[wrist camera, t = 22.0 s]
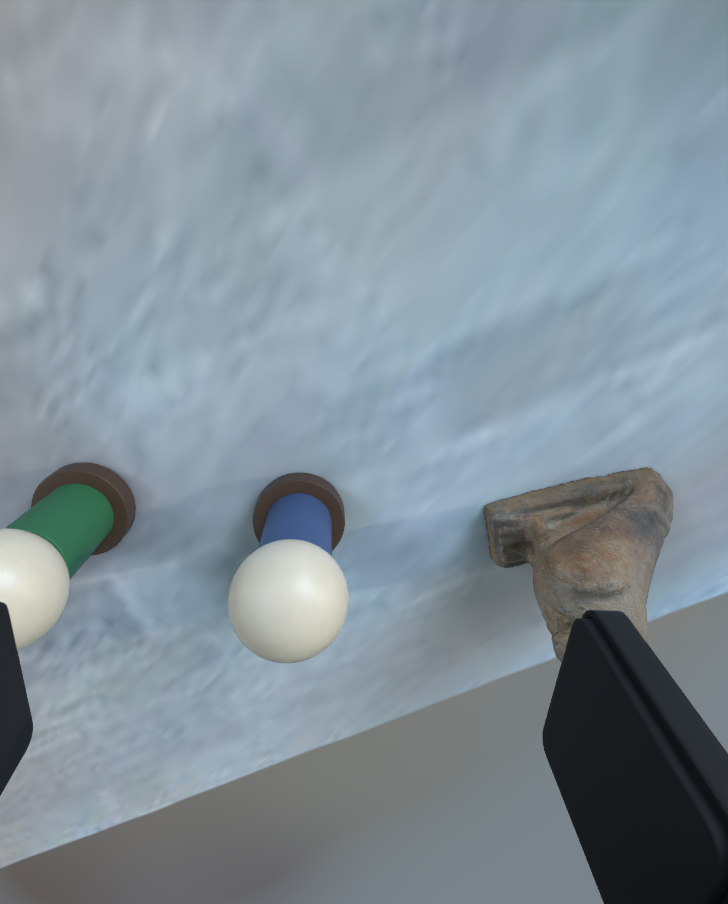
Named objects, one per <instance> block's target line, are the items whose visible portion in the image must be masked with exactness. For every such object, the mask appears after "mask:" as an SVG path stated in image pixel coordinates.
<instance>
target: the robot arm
mask: <svg viewBox="0 0 728 904" xmlns="http://www.w3.org/2000/svg"><path fill="white" fill-rule="evenodd" d="M32 732H33V722H32V717H31V712H30V708H29V703H28V698H27V694H26V689H25V684H24V680H23V675H22V670H21V666H20V661H19V656H18V652H17V647H16V643H15V638H14V633H13V629H12V624H11V619H10V615H9V610H8V607H7V605H6V604H5V603H4V602H0V795H1V794H2V792H3V790H4V788H5V787H6V785H7V783H8V781H9V780H10V778H11V776H12V774H13V773H14V771H15V769H16V767H17V766H18V764H19V762H20V760H21V759H22V757H23V755H24V754H25V752H26V750H27V748H28V746H29V743H30V741H31V737H32ZM543 745H544V751H545V753H546V757H547V759H548V762H549V764H550V767H551V769H552V772H553V774H554V777H555V779H556V782H557V785H558V787H559V790H560V792H561V795H562V797H563V800H564V803H565V805H566V807H567V810H568V813H569V815H570V818H571V820H572V823H573V826H574V828H575V831H576V833H577V836H578V838H579V841H580V843H581V846H582V849H583V851H584V854H585V856H586V859H587V861H588V864H589V866H590V869H591V872H592V874H593V877H594V879H595V882H596V884H597V887H598V889H599V892H600V895H601V897H602V899H603V902H604V904H728V753H727V752H726V751H725V749H724V748H723V747H722V745H721V744H720V742H719V741H718V740H717V738H716V737H715V736H714V734H713V733H712V732H711V730H710V729H709V727H708V726H707V725H706V724H705V722H704V721H703V719H702V718H701V717H700V715H699V714H698V712H697V711H696V710H695V708H694V707H693V706H692V704H691V703H690V701H689V700H688V699H687V697H686V696H685V695H684V693H683V692H682V691H681V689H680V688H679V686H678V685H677V684H676V682H675V681H674V679H673V678H672V677H671V675H670V674H669V673H668V671H667V670H666V668H665V667H664V666H663V664H662V663H661V662H660V660H659V659H658V658H657V656H656V655H655V653H654V652H653V651H652V649H651V648H650V647H649V645H648V644H647V642H646V641H645V640H644V638H643V637H642V636H641V634H640V633H639V631H638V630H637V629H636V627H635V626H634V625H633V623H632V622H631V620H630V619H629V618H628V616H627V615H626V614H625V613H624V612H621V611H608V610H587V611H586V612H585V613H584V614H583V616H582V618H578V619H575V620H574V622H573V624H572V627H571V631H570V634H569V638H568V642H567V645H566V649H565V652H564V656H563V660H562V664H561V667H560V671H559V674H558V678H557V681H556V686H555V689H554V692H553V696H552V699H551V703H550V707H549V710H548V714H547V718H546V721H545V725H544V729H543Z"/></svg>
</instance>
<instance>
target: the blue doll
mask: <svg viewBox="0 0 728 904" xmlns="http://www.w3.org/2000/svg"><path fill="white" fill-rule="evenodd" d="M344 526H345V517H344V506H343V503H342V500H341V497H340V495H339V494H338V492H337V491H336V489H335V488H334V487H333V486H332V485H331V484H330V483H329V482H327V481H326V480H324V479H322V478H320V477H318V476H316V475H312V474H308V473H291V474H287V475H284V476H281V477H279V478H277V479H275V480H274V481H272V482H271V483H270V484H269V485H268V486H267V487H266V488H265V489H264V490H263V491H262V493H261V495H260V497H259V499H258V502H257V505H256V508H255V511H254V515H253V527H254V532H255V534H256V537H257V539H258V541H259V543H260V544H259V548H258V549H257V550H255V551H254V552H252V553H251V554H250V555H249V556H248V557H247V558H246V559H245V560H244V561H243V563H242V564H241V565H240V566H239V568H238V569H237V571H236V573H235V575H234V577H233V580H232V582H231V585H230V590H229V594H228V612H229V617H230V621H231V625H232V627H233V629H234V631H235V633H236V635H237V636H238V638H239V639H240V641H241V642H242V643H243V644H244V645H245V646H246V647H247V648H248V649H249V650H250V651H251V652H253V653H254V654H256V655H257V656H259V657H261V658H263V659H266V660H269V661H273V662H277V663H296V662H300V661H304V660H307V659H309V658H312V657H314V656H316V655H317V654H319V653H320V652H322V651H323V650H325V649H326V648H327V647H328V646H329V645H330V644H331V643H332V642H333V641H334V639H335V638H336V637H337V635H338V634H339V632H340V631H341V629H342V627H343V625H344V622H345V619H346V615H347V612H348V605H349V593H348V587H347V582H346V579H345V576H344V574H343V572H342V570H341V568H340V566H339V565H338V564H337V562H336V561H335V559H334V558H333V557H332V550H333V549H334V548H335V547H336V546H337V544H338V543H339V541H340V539H341V537H342V535H343V531H344Z"/></svg>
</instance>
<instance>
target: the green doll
mask: <svg viewBox="0 0 728 904" xmlns="http://www.w3.org/2000/svg"><path fill="white" fill-rule="evenodd" d="M135 509H136V507H135V501H134V497H133V495H132V492H131V490H130V489H129V487H128V485H127V484H126V483H125V481H124V480H123V479H122V478H121V477H119V476H118V475H117V474H116V473H114V472H113V471H111V470H109V469H107V468H105V467H103V466H100V465H96V464H92V463H74V464H70V465H67V466H64V467H62V468H60V469H59V470H57V471H56V472H54V473H53V474H51V475H50V476H49V477H47V478H46V479H45V480H43V481H42V482H41V484H40V485H39V486H38V487H37V489H36V491H35V493H34V495H33V499H32V505H31V509H29V510H28V511H27V512H25V513H24V514H23V515H22V516H20V517H19V518H18V519H17V520H15V521H14V522H13V523H11V524H10V525H9V526H8V527H6V528H1V529H0V602H4V603H5V604H6V605H7V607H8V610H9V615H10V619H11V624H12V629H13V633H14V638H15V643H16V647H17V651H18V650H21V649H23V648H25V647H27V646H29V645H31V644H32V643H34V642H35V641H37V640H38V639H40V638H41V637H42V636H44V635H45V634H46V633H47V632H48V631H49V630H50V629H51V628H52V627H53V626H54V625H55V623H56V622H57V620H58V619H59V617H60V616H61V614H62V612H63V610H64V608H65V606H66V603H67V600H68V596H69V590H70V579H71V577H72V576H73V575H74V574H75V573H76V572H77V570H78V569H79V568H80V567H81V566H82V564H83V563H84V562H85V561H86V560H87V559H88V557H89V556H91V555H97V554H101V553H104V552H106V551H108V550H110V549H112V548H113V547H115V546H116V545H117V544H118V543H119V542H120V541H121V540H122V538H123V537H124V536H125V535H126V533H127V532H128V531H129V529H130V528H131V526H132V524H133V521H134V518H135Z"/></svg>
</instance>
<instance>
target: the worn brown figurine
mask: <svg viewBox="0 0 728 904" xmlns="http://www.w3.org/2000/svg"><path fill="white" fill-rule="evenodd" d="M620 472H621V471H620ZM620 472H618V473H612V474H611V475H609V474H608V475H607V476H606V477H602V476H598V477H595V478H591V477H588V478H584V479H582V480H581V479H580V478H579V479H580V480H577V481H576V482H574V481H572V482H570V483H567V484H560V485H558V486H554V487H547V488H545V489H540V490H537V491H531V492H529V493H525V494H522V495H520V496H514V497H511V498H509V499H502V500H499V501H497V502H493V503H490V504H487V505H486V506H484V514H485V521H486V528H487V531H488V539H489V544H490V545H489V549H490V555H491V558H492V559H493V560H494V562H495V563H496V565H498V566H500V567H504V568H510V567H514V566H518V565H521V564H524V563H531V565H532V566H533V585H534V591H535V596H536V599H537V601H538V604H539V607H540V609H541V612H542V615H543V617H544V619H545V621H546V624H547V628H548V630H549V631H550V633H551V634H552V642H553V648H554V651H555V655H556V657H557V658H558V659H559V660H560V661H561V662H562V660H563V656H564V652H565V649H566V645H567V642H568V638H569V634H570V631H571V627H572V624H573V622H574V620H575V619H578V618H582V616H583V614H584V613H585V612H586V611H587V610H608V611H621V612H624V613H625V614H626V615H627V616H628V618H629V619H630V620H631V622H632V623H633V625H634V626H635V627H636V629H637V630H638V631H639V633H640V634H641V636H642V637H643V638H644V640H645V641H646V642H647V615H646V602H647V597H648V592H649V588H650V583H651V580H652V576H653V572H654V568H655V564H656V562H657V559H658V557H659V553H660V550H661V547H662V545H663V542H664V539H665V538H666V536H667V535H668V533H669V530H670V523H671V521H672V518H673V494H672V491H671V490H670V488H669V487H668V486H667V485H666V483H665V482H664V481H663V480H662V478H661V477H660V475H659V474H658V473H657V472H655V471H653V470H652V468H650V469H649V468H641V469H638V470H637V469H636V470H630V471H625V472H624V471H622V472H621V473H620Z"/></svg>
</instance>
